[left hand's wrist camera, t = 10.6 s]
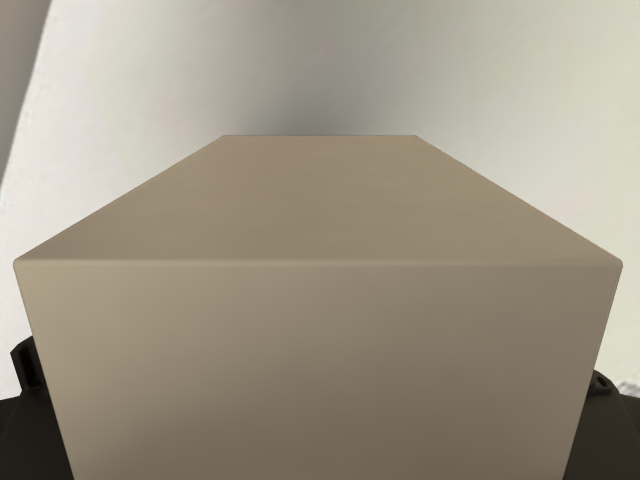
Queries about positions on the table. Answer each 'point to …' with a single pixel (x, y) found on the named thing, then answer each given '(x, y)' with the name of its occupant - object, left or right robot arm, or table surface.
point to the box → (318, 319)
